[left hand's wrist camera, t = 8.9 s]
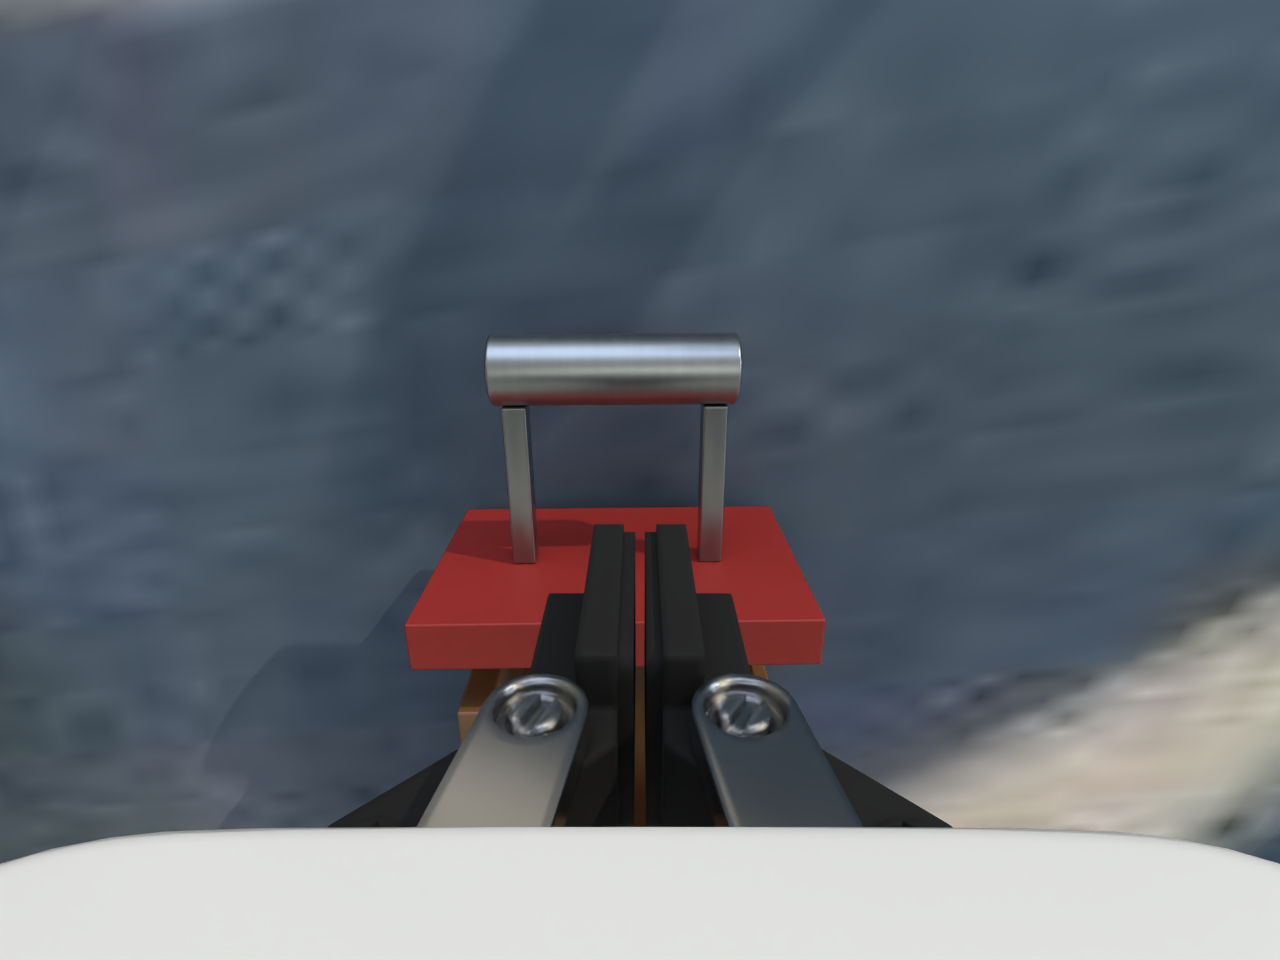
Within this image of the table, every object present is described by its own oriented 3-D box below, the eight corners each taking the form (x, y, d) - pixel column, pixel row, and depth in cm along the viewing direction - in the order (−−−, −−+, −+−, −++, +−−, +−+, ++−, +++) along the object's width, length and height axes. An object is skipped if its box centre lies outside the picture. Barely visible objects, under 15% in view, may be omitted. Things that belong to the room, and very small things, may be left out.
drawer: (447, 315, 19) (363, 361, 13) (783, 313, 19) (855, 357, 13) (509, 907, 27) (475, 1102, 21) (741, 903, 27) (773, 1095, 21)
